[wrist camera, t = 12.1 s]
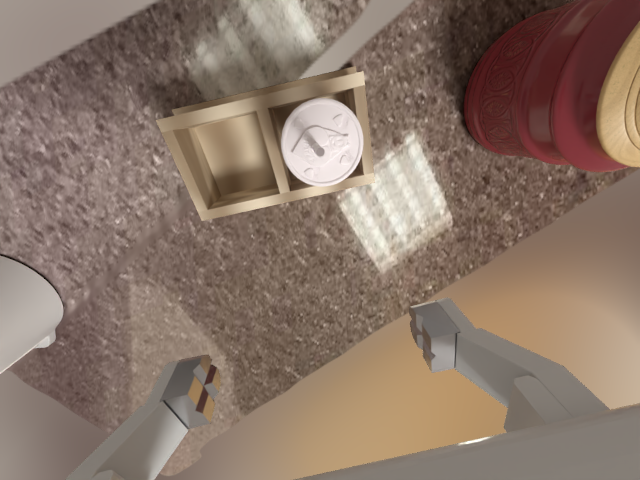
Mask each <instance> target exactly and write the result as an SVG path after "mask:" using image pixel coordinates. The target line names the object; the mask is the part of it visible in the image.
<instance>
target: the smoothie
mask: <svg viewBox="0 0 640 480" xmlns="http://www.w3.org/2000/svg"><path fill="white" fill-rule="evenodd" d="M281 149H282V154H283V158H284V160H285V163H286V164H287V166H288V168H289V169H290V171H291V172H292V173H293V174H294V175H295V176H296V177H297V178H298V179H300V180H301V181H303V182H305V183H307V184H310V185H313V186H321V187H323V186H331V185H334V184H337V183H339V182H341V181H343V180H344V179H346V178H347V177H348V176H349V175H350V174H351V173H352V172H353V171H354V169H355V168H356V166H357V165H358V163H359V161H360V158H361V155H362V151H363V133H362V129H361V126H360V123H359V121H358V119H357V118H356V116H355V115H354V113H353V112H352V111H351V110H350V109H349V108H348V107H347V106H345V105H344V104H342V103H340V102H338V101H336V100H333V99H328V98H317V99H312V100H309V101H307V102H304V103H302V104H301V105H300V106H298V107H297V108H296V109H294V110H293V112H292V113H291V114H290V116H289V117H288V118H287V120H286V122H285V125H284V128H283V130H282V136H281Z"/></svg>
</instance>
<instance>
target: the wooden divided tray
mask: <svg viewBox="0 0 640 480" xmlns="http://www.w3.org/2000/svg"><path fill="white" fill-rule="evenodd" d="M317 98H328V99H333V100H336V101H338V102H340V103H342V104H344V105H345V106H347V107H348V108H349V109H350V110H351V111H352V112H353V113H354V115H355V116H356V118H357V119H358V121H359V123H360V126H361V129H362V133H363V151H362V155H361V158H360V161H359V163H358V165H357V166H356V168H355V169H354V171H353V172H352V173H351V174H350V175H349V176H348V177H347V178H346V179H344V180H343V181H341V182H339V183H337V184H334V185H331V186H323V187H321V186H313V185H310V184H307V183H305V182H303V181H301V180H300V179H298V178H297V177H296V176H295V175H294V174H293V173H292V172H291V171H290V169H289V168H288V166H287V164H286V163H285V160H284V158H283V154H282V149H281V136H282V130H283V128H284V125H285V122H286V120H287V118H288V117H289V116H290V114H291V113H292V112H293V110H294V109H296V108H297V107H298V106H300V105H301V104H302V103H304V102H307V101H309V100H312V99H317ZM172 112H173V115H174V116H171V117H167V118H163V119H159V120H156V122H157V124H158V126H159V128H160V131H161V133H162V135H163V137H164V139H165V141H166V144H167V146H168V148H169V150H170V152H171V154H172V157H173V159H174V161H175V163H176V165H177V168H178V170H179V172H180V174H181V176H182V178H183V181H184V183H185V185H186V187H187V189H188V191H189V194H190V196H191V198H192V200H193V202H194V204H195V207H196V209H197V211H198V213H199V215H200V218H201V220H202V221H204V220H209V219H213V218H218V217H222V216H227V215H231V214H236V213H240V212H245V211H249V210H254V209H258V208H263V207H267V206H272V205H276V204H281V203H285V202H290V201H294V200H299V199H303V198H308V197H312V196H317V195H321V194H326V193H330V192H335V191H339V190H344V189H348V188H353V187H357V186H362V185H366V184H371V183H375V178H374V168H373V159H372V149H371V139H370V130H369V120H368V111H367V101H366V92H365V82H364V72H358V73H356V66H355V67H350V68H346V69H342V70H338V71H334V72H329V73H325V74H321V75H317V76H313V77H309V78H304V79H300V80H295V81H291V82H287V83H283V84H278V85H274V86H270V87H266V88H262V89H257V90H253V91H249V92H245V93H240V94H236V95H232V96H228V97H223V98H219V99H215V100H211V101H206V102H202V103H198V104H194V105H190V106H185V107H181V108H177V109H173V110H172Z"/></svg>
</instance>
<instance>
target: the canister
mask: <svg viewBox="0 0 640 480" xmlns="http://www.w3.org/2000/svg"><path fill="white" fill-rule="evenodd" d="M464 118H465V123H466V126H467V129H468V131H469V133H470V134H471V136H472V137H473V139H474V140H475V141H476V142H477V143H478V144H480V145H481V146H483V147H485V148H486V149H488V150H490V151H492V152H495V153H498V154H503V155H509V156H517V155H518V156H523V157H528V158H534V159H539V160H541V161H543V162H546V163H549V164H556V165H569V164H571V165H573V166H574V167H577V168H579V169H582V170H585V171H590V172H610V171H616V170H621V169H624V168H628V167H631V166H633V167H640V0H575V1H572V2H570V3H567V4H565V5H563V6H560V7H558V8H555V9H550V10H546V11H543V12H540V13H538V14H535V15H533V16H531V17H529V18H526V19H525V20H523V21H521V22H519V23H518V24H516V25H515V26H513V27H512V28H511V29H509V30H508V31H507V32H505V33H504V34H503V35H501V36H500V37H499V38H498V39H497V40H496V41H495V42H493V44H492V45H491V46H490V47H489V48H488V49H487V50H486V51H485V53H484V54H483V55H482V57H481V58H480V60H479V61H478V63H477V65H476V66H475V68H474V70H473V72H472V74H471V77H470V79H469V82H468V85H467V89H466V93H465V98H464Z"/></svg>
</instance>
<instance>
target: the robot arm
mask: <svg viewBox="0 0 640 480" xmlns="http://www.w3.org/2000/svg"><path fill="white" fill-rule="evenodd" d="M409 314H410V316H411V318H412V320H411V322H410V327H411V332H412V335H413V338H414V340H415V342H416V344H417V346H418V347H419V348H421V349H422V350H423V357H424V359H425V361H426V363H427V365H428V367H429V369H430V370H431V372H432V373H434V372H439V371H444V370H449V369H454V368H455V370H457V371H458V372H459V373H461V374H462V375H464V376H465V377H466V378H468V379H469V380H470V381H472V382H473V383H475V384H476V385H477V386H478V387H480V388H481V389H483V390H484V391H485V392H487V393H488V394H489V395H491V396H492V397H493V398H495V399H496V400H498V401H499V402H500V403H502V404H503V405H504V406H506V407H507V408H508V410H507V415H506V419H505V423H504V429H505V430H506V432H507V433H503V434H498V435H494V436H489V437H485V438H480V439H476V440H471V441H466V442H462V443H457V444H453V445H449V446H444V447H439V448H435V449H430V450H426V451H421V452H417V453H412V454H408V455H403V456H399V457H394V458H390V459H386V460H381V461H376V462H372V463H367V464H363V465H358V466H353V467H349V468H345V469H340V470H335V471H331V472H326V473H322V474H317V475H313V476H308V477H304V478H300V479H295V480H640V403H638V404H633V405H629V406H624V407H620V408H616V409H611V410H610V409H609V408H608V407H607V406H606V405H605V404H604V403H602V401H600V400H599V399H598V398H597V397H596V396H595V395H594V394H593V393H592V392H591V391H590V390H589V389H587V387H585V386H584V385H583V384H582V383H581V382H580V381H579V380H578V379H577V378H576V377H575V376H573V374H572V373H570V372H569V371H568V370H567V369H566V368H565V367H564V366H562V365H560V364H558V363H556V362H553V361H551V360H549V359H547V358H544V357H542V356H540V355H538V354H536V353H534V352H531V351H530V350H527V349H525V348H523V347H521V346H519V345H516V344H514V343H512V342H510V341H508V340H505V339H503V338H501V337H499V336H497V335H495V334H492V333H490V332H488V331H486V330H484V329H482V328H479V329H476V328H475V327H474V325H473V324H472V323H471V322H470V321H469V320H468V318H467V317H466V316H465V315H464V314H463V313H462V311H461V310H460V309H459V308H458V307H457V306H456V304H455V303H454V302H453V301H452V300H451V299H450V298H444V299H440V300H436V301H432V302H427V303H423V304H419V305H415V306H411V307H410V308H409ZM62 317H63V305H62V302H61V299H60V297H59V295H58V294H57V292H56V291H55V289H54V288H53V287H52V286H51V285H50V284H49V283H48V282H47V281H46V280H45V279H44V278H43V277H41V276H40V275H39V274H37V273H36V272H35V271H33V270H32V269H30V268H28V267H26V266H25V265H23V264H21V263H19V262H16V261H14V260H11V259H9V258H6V257H3V256H0V374H1V373H2V372H3V371H5V370H6V369H7V368H9V367H10V366H11V365H12V364H14V363H15V362H16V361H18V360H19V359H20V358H22V357H23V356H24V355H25V354H27V353H28V352H29V351H30V350H32V349H33V348H43V347H47V346H49V345H50V344H52V343H53V342H54V341H55V339H56V334H55V329H56V327H57V325H58V324H59V323H60V321H61V319H62ZM211 362H212V359H211V358H210V356H209V355H201V356H197V357H192V358H187V359H182V360H178V361H173V362H169V363H168V364H167V365H166V366H165V367H164V369H163V371H162V373H161V375H160V377H159V379H158V380H157V382H156V384H155V386H154V388H153V390H152V392H151V394H150V396H149V398H148V400H147V401H146V403H145V405H144V406H140V407H139V408H138V409H137V410H136V411H135V412H134V413H133V414H132V415H131V416H130V417H129V418H128V419H127V420H126V421H125V422H124V423H123V424H122V425H121V426H120V427H119V428H118V429H117V430H116V431H114V432H113V433H112V434H111V435H110V436H109V438H107V439H106V440H105V441H104V442H103V443H102V444H101V445H100V446H99V447H98V448H97V449H96V450H95V451H94V452H93V453H92V454H91V455H90V456H89V457H88V458H87V459H86V460H85V461H84V462H83V463H82V464H80V465H79V467H77V468H76V469H75V470H74V471H73V472H72V473H71V474H70V475H69V476H68V477H67V478H66V480H154V479H155V477H156V476H157V475H158V473H159V472H160V470H161V469H162V468H163V466H164V465H165V463H166V462H167V460H168V459H169V458H170V456H171V455H172V453H173V452H174V450H175V449H176V447H177V446H178V445H179V443H180V442H181V440H182V439H183V437H184V436H185V435H186V433H187V432H188V429H190V428H194V427H198V426H202V425H206V424H209V423H211V419H212V416H213V412H214V409H215V405H216V404H215V402H214V398H215V397H216V395H217V394H218V393H219V390H220V386H221V375H220V372H219V370H218V368H217V367H215V366H213V365H211Z"/></svg>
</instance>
